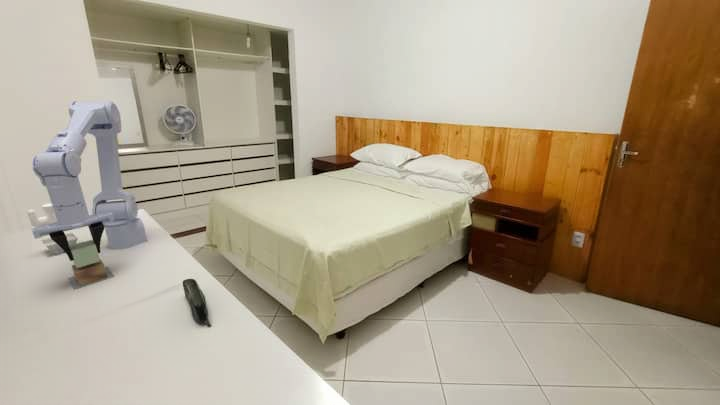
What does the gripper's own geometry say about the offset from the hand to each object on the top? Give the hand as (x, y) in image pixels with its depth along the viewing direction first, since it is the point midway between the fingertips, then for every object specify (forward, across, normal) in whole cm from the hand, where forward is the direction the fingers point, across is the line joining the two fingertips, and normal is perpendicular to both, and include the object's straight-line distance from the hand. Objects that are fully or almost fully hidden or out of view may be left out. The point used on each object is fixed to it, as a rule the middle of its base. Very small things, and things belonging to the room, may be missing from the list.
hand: (85, 255), depth 78 cm
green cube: (+2, 0, 0) cm, 2 cm away
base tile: (+8, 0, 0) cm, 8 cm away
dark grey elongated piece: (+8, +13, -32) cm, 35 cm away
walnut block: (+6, 0, 0) cm, 6 cm away
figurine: (+8, -2, +31) cm, 32 cm away
